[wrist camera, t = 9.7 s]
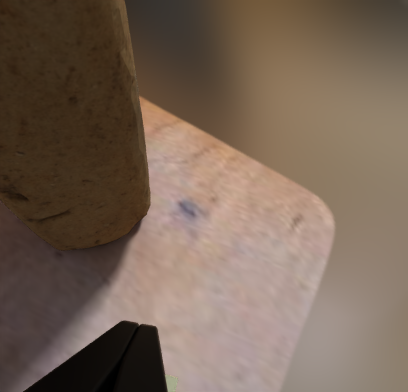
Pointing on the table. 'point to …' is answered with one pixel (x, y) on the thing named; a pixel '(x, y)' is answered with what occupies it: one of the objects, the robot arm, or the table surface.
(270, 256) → the table surface
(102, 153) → the brown stone
